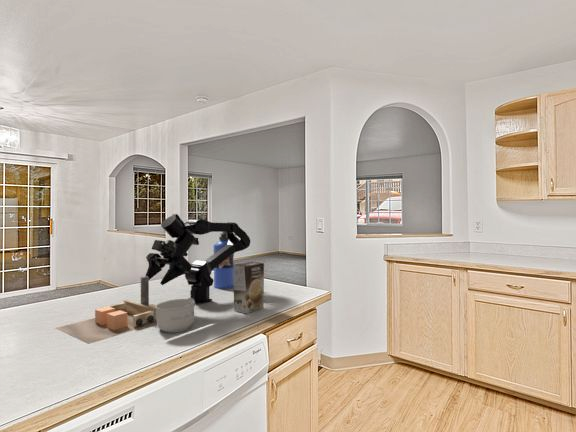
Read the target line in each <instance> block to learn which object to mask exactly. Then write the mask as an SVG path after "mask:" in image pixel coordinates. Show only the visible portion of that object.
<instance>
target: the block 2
mask: <svg viewBox="0 0 576 432" xmlns="http://www.w3.org/2000/svg"><path fill="white" fill-rule="evenodd" d="M126 326H128V321H127V312H124V311H121V310H119V311H115V312H111V313H107V327H108V328H110V329H113V330H116V329H119V328H123V327H126Z"/></svg>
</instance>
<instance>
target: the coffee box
mask: <svg viewBox="0 0 576 432" xmlns="http://www.w3.org/2000/svg"><path fill="white" fill-rule="evenodd" d="M264 278H265V263H264V262H257V261H249V262H248V261H247V262H242V263H237V264H236V263H234V287H233V311H234V312H239V313H243V314H249V313H252V312H255V311H257V310H258V311H259V310H261V309H263V308H264V307H265V300H264V299H265V297H264V295H265V292H264V291H265V284H264V283H265V279H264Z"/></svg>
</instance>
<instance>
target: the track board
mask: <svg viewBox="0 0 576 432" xmlns="http://www.w3.org/2000/svg"><path fill="white" fill-rule="evenodd" d="M156 305H157V304H154V303H149V306H150V307H154V308H155V306H156ZM127 321H128V326H126V327H123V328H119V329H116V330H113V329H110V328H108V327H107V324H104V325H100V324H98V323H95V317H94V318H90V319H87V320H82V321H78V322H73V323H70V324H65V325H61V326H59V327H55V329H56V330H58V331H60V332H62V333H64V334H67V335H69V336H71V337H73V338H75V339H77V340H80V341H82V342H84V343H86V344H88V345H90V344H92V343H95V342H99V341H102V340H105V339H108V338H112V337H115V336H119V335H122V334H125V333H128V332H132V331H135V330H139V329H142V328H145V327H149V326H151V325H154V324H157V320H155V321H152V322H149V323H145V324H142V325H140V326H133V314H130V313H127Z"/></svg>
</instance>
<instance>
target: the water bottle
mask: <svg viewBox="0 0 576 432" xmlns="http://www.w3.org/2000/svg"><path fill="white" fill-rule="evenodd" d="M218 237H219V239H218V240H219V241H218V242H217V243H214V244H213V254H214V253H216V252H217V251H219V250H220V249H221V248H223V247H224V246H225V245H227V243H228V240H229V239H228V238H227V232H220V233H219V236H218ZM234 257H235V253H234V254H232V255H231V256H230V257H229V258H227V259H226V260H225V261H223V262H222V263H221V264H220V265H218V266H217V267H216V268H214V269H213V280H214V281H213V287H214V288H215V289H217V290H218V289H219V290H220V289H221V290H225V289H232V288H234V265H235V263H234Z"/></svg>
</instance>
